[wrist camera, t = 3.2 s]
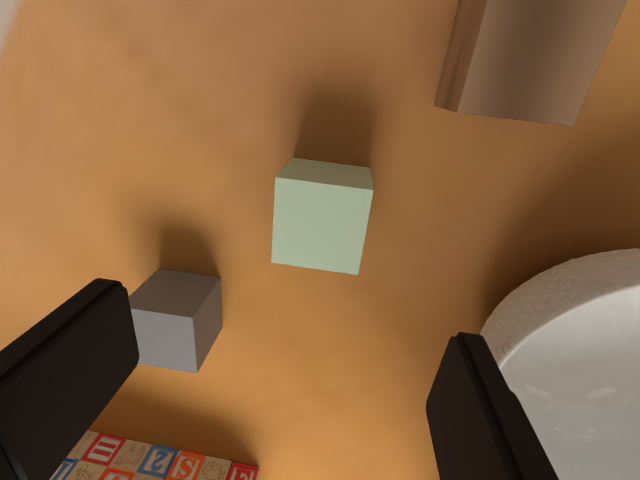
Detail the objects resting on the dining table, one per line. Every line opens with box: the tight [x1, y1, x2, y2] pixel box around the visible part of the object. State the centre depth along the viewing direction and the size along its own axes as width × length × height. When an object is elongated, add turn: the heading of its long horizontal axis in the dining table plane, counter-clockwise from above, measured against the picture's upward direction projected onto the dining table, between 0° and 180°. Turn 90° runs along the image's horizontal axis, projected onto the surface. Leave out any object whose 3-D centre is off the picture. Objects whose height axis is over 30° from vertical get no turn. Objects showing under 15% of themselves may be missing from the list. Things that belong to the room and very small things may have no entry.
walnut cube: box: [434, 0, 627, 126], centre depth 16 cm, size 5×5×5 cm
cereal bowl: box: [479, 248, 640, 480], centre depth 21 cm, size 17×17×7 cm
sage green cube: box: [271, 158, 374, 275], centre depth 20 cm, size 5×5×5 cm
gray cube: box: [129, 268, 222, 373], centre depth 25 cm, size 5×5×5 cm
